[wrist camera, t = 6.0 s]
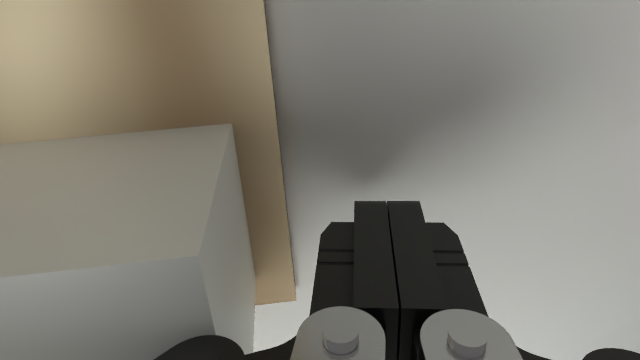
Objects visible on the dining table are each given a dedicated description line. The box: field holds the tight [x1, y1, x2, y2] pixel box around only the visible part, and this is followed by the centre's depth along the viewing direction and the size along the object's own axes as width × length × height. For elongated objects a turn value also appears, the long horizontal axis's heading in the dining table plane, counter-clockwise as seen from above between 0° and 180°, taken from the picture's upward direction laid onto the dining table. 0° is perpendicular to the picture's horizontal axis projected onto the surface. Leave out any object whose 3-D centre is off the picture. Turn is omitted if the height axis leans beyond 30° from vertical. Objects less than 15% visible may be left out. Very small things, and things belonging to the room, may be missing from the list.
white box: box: [0, 123, 256, 360], centre depth 9 cm, size 8×5×6 cm, turn 94°
